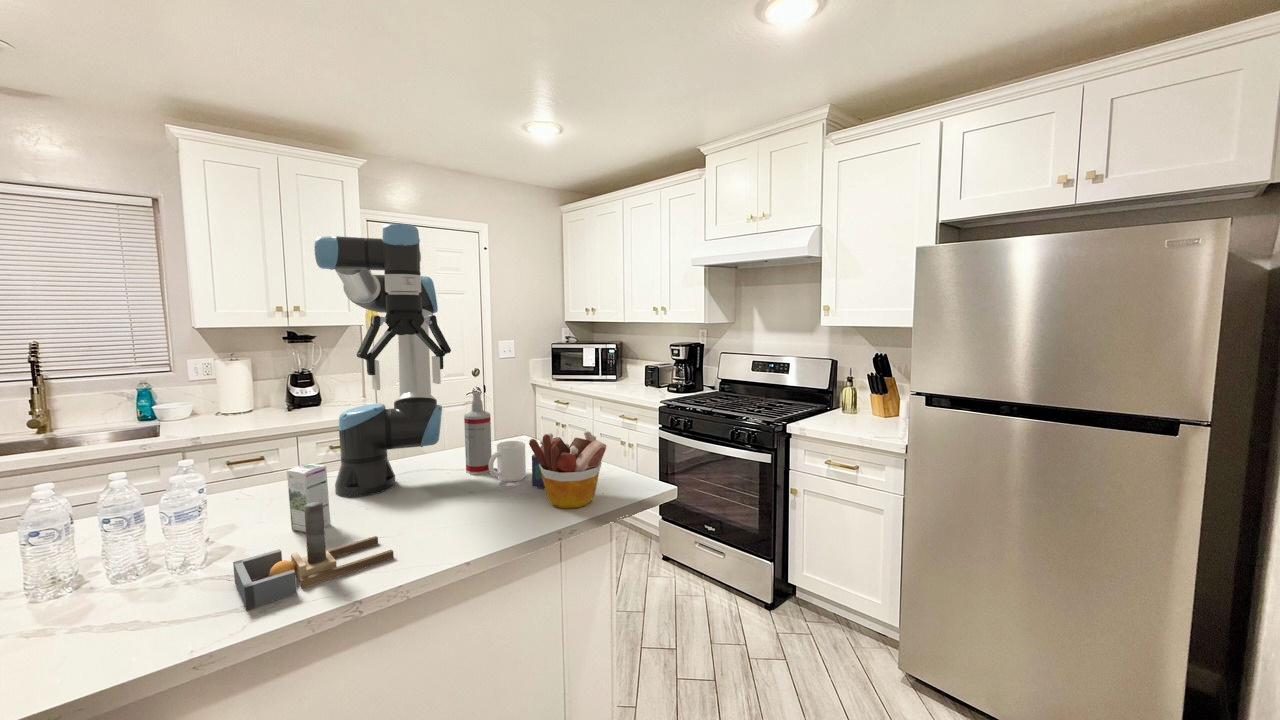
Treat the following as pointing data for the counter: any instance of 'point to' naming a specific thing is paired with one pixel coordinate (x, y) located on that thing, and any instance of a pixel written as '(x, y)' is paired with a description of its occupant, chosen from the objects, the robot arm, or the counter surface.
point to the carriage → (313, 544)
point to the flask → (536, 474)
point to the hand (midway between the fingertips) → (407, 386)
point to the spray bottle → (477, 438)
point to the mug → (509, 461)
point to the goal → (262, 580)
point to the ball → (282, 567)
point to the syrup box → (307, 492)
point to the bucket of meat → (569, 468)
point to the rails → (350, 566)
